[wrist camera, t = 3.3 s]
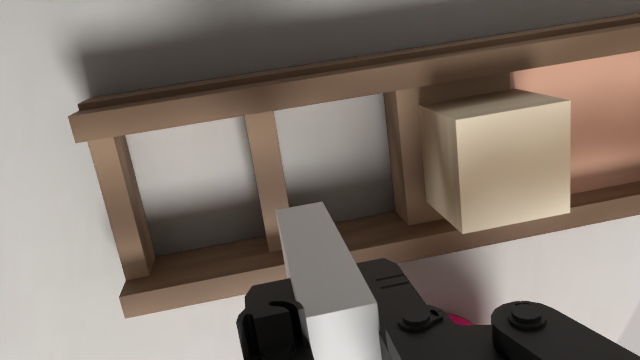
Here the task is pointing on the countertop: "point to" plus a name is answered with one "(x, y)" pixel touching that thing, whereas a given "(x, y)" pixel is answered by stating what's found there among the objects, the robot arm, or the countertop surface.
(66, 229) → the countertop surface
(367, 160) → the countertop surface
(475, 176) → the birch block
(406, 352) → the robot arm
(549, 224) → the channel
